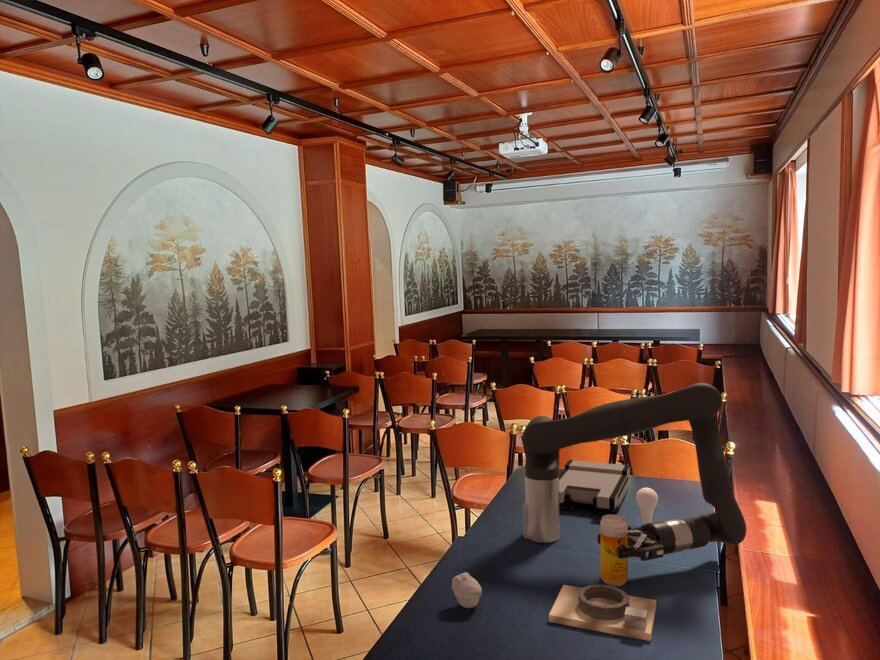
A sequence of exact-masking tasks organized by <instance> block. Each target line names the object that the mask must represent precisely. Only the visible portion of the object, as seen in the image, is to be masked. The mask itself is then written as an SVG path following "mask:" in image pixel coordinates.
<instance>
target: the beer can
mask: <svg viewBox="0 0 880 660" xmlns="http://www.w3.org/2000/svg"><path fill="white" fill-rule="evenodd" d="M627 526H628V523H627V521H626V518H625V516H622V515H619V514H615V515H614V514H605V515H603V516H602V517H601V520H600V523H599V527H600V530H599V531H600V533H599V534H600V543H601V544H600V578H601V579H602V582H603V583H605V585H609V586H614V587H621V586H622V587H623V586H624V585H625V584H626V582H627V581H628V580H629V577H628V575H629V574H628V573H629V572H628V571H629V570H628V569H629V568H628V567H629V565H628V563H629V561H628V559H629V558H623V559H620V558H618V557H617V549H618V548H623V547H629V546H628V537H627Z"/></svg>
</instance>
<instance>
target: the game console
mask: <svg viewBox="0 0 880 660" xmlns="http://www.w3.org/2000/svg"><path fill="white" fill-rule="evenodd" d="M630 479H631V465H627V464H617V463H604V462H595V461H583V460H572V459H569V460H568V461H567V462H565V464H564V469H563V470H561V472H560V473H559V507H564V508H563V509H565V508H570V509H569V510H572V509H573V508H574V506H575V505H576V503H578V504H587V505H592V510H593V511H594V513H598V512H600V513H599V514H606V513H608V514H607V515H610V514H613V515H614V514H615V515H616V513H617V511H618V508H619V507H620V505H621V504H622V501H623V499H624V497H625V495H626V493H627V491H628V484H629V482H630ZM575 502H576V503H575ZM574 504H575V505H574ZM573 505H574V506H573ZM572 507H573V508H572ZM571 508H572V509H571ZM615 512H616V513H615Z"/></svg>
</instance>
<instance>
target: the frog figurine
mask: <svg viewBox="0 0 880 660" xmlns="http://www.w3.org/2000/svg"><path fill="white" fill-rule="evenodd" d="M451 588H452V591H453V593H454V596H455V597H456V600H457V603H458V604H459V605H460V606H462V607H463V608H466V609H472V608H474V607H476V606H477V605H478V603H479V601H480V598H481V596H482V595H483V594H482V593H483V592H482V591H483V589H482V587H481V585H480V584H479V582H478V581H477V579H475V578H474V577H472V576H471V575H470V574H469V572H466V571H465V572H463V573H460V574H458V575H456V576H454V577H453V578H452V581H451Z"/></svg>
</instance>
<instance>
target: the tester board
mask: <svg viewBox="0 0 880 660" xmlns="http://www.w3.org/2000/svg"><path fill="white" fill-rule="evenodd" d="M656 610H657V599H651V598H645V597H640V596H634V595H629V594H627V593H626V591H624V590H623V589H620V588H618V587H617V586H611V585H608V584H599V583H598V584H589V585H586V586H584V587H579V586H574V585H573V586H572V585H566V584H563V585H562V587H561V589H560V591H559V593H558V595H557V597H556V599H555V601H554V603H553V606H552V607H551V609H550V611H549V614H548V622H549V623H553V624H554V623H555V624H558V625H564V626H569V627H573V628H580V629H584V630H589V631H596V632H600V633H606V634H612V635H616V636H621V637H626V638H631V639H637V640H643V641H648V642H651V641H652V635H653V630H654V624H655V618H656Z"/></svg>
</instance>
